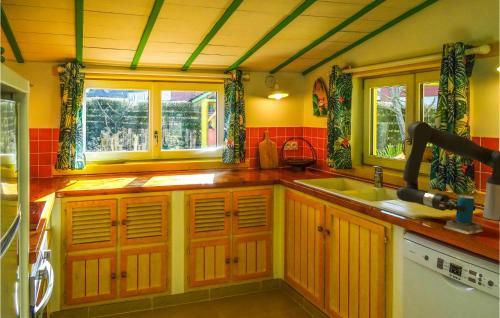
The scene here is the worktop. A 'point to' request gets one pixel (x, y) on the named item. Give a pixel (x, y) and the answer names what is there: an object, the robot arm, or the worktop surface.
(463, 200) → the beverage can
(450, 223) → the grey square tray
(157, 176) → the worktop surface
